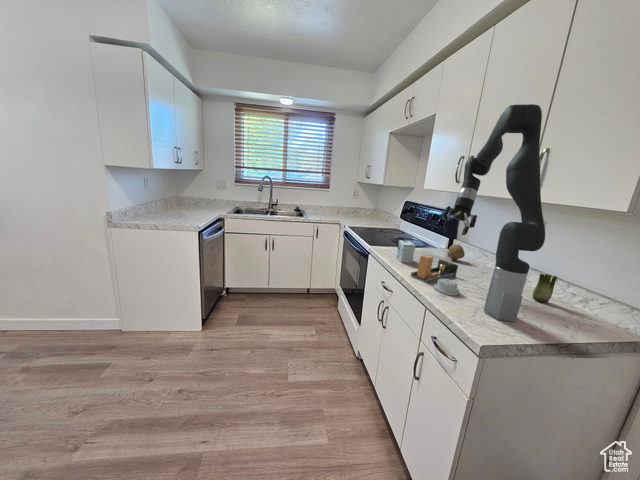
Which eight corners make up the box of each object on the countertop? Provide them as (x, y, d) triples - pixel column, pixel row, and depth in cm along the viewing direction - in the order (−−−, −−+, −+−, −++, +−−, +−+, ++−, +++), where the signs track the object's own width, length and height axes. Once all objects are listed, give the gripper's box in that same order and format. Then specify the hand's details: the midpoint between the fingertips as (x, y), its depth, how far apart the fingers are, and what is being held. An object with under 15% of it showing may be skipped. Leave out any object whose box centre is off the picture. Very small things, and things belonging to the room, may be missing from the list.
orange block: (426, 272, 127) (429, 253, 124) (437, 277, 122) (442, 257, 119) (414, 275, 122) (418, 254, 119) (426, 280, 117) (430, 259, 114)
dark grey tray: (438, 270, 135) (439, 266, 135) (454, 276, 128) (455, 272, 128) (410, 276, 123) (411, 272, 122) (427, 283, 115) (428, 279, 115)
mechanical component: (428, 286, 113) (444, 296, 103) (430, 277, 111) (446, 286, 102) (446, 285, 115) (464, 295, 106) (448, 276, 114) (466, 285, 105)
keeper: (438, 270, 136) (440, 259, 134) (455, 276, 128) (458, 265, 126) (430, 271, 132) (433, 260, 131) (448, 278, 124) (451, 266, 123)
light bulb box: (395, 257, 153) (398, 239, 151) (407, 258, 153) (410, 240, 151) (400, 262, 143) (403, 244, 140) (412, 263, 143) (416, 245, 140)
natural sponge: (465, 261, 157) (468, 245, 155) (459, 263, 151) (462, 247, 149) (450, 257, 164) (453, 242, 161) (443, 259, 158) (447, 243, 156)
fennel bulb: (549, 302, 107) (558, 275, 104) (548, 305, 103) (557, 277, 100) (531, 297, 110) (539, 270, 108) (530, 300, 107) (538, 273, 104)
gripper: (454, 192, 118) (442, 225, 117) (485, 202, 116) (473, 236, 116) (447, 196, 125) (436, 227, 125) (476, 205, 123) (465, 237, 123)
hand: (454, 231), depth 120 cm, fingers open, 8 cm apart
